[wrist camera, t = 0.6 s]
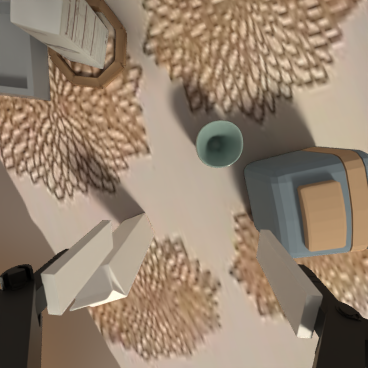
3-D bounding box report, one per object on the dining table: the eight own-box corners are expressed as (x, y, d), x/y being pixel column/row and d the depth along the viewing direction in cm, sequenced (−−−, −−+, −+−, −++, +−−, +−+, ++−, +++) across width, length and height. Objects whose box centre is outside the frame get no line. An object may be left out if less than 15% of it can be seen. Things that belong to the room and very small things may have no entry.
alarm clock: (325, 214, 41) (405, 258, 25) (253, 229, 43) (286, 279, 27) (318, 143, 37) (404, 144, 22) (240, 163, 39) (268, 177, 24)
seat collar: (51, -3, 34) (45, -9, 33) (127, 5, 34) (124, -1, 32) (55, 83, 38) (50, 81, 36) (124, 91, 37) (121, 89, 36)
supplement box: (70, 61, 37) (7, 21, 25) (74, 20, 35) (9, -46, 23) (104, 71, 37) (58, 36, 25) (110, 30, 35) (64, -30, 23)
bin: (-33, 4, 36) (-61, -13, 32) (45, 12, 35) (26, -5, 31) (-21, 92, 39) (-45, 87, 36) (50, 100, 39) (34, 96, 35)
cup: (194, 127, 38) (193, 122, 28) (231, 123, 38) (243, 116, 28) (197, 163, 40) (197, 170, 30) (232, 160, 39) (244, 166, 30)
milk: (124, 220, 44) (55, 292, 23) (145, 212, 43) (95, 279, 22) (134, 241, 45) (78, 328, 24) (155, 233, 45) (117, 317, 23)
